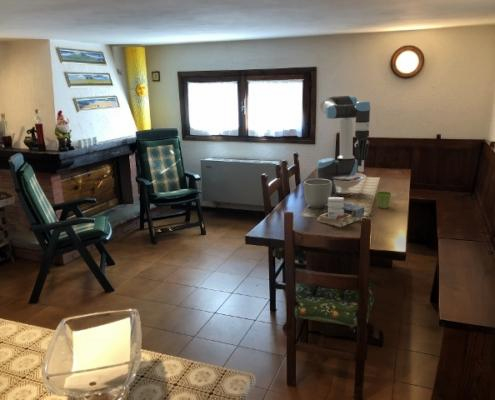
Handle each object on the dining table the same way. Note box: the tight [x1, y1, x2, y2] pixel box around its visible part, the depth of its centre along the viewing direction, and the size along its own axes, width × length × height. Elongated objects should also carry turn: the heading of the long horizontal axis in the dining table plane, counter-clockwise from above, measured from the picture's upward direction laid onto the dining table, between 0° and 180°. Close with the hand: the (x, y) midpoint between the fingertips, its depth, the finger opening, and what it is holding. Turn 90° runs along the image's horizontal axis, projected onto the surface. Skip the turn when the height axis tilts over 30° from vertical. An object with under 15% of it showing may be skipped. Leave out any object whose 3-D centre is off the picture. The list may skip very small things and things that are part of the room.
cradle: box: [316, 210, 371, 228], centre depth 232 cm, size 28×16×4 cm, turn 131°
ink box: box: [327, 196, 345, 220], centre depth 227 cm, size 9×5×12 cm, turn 76°
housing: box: [344, 202, 365, 217], centre depth 235 cm, size 8×15×4 cm, turn 41°
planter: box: [303, 178, 332, 210], centre depth 253 cm, size 17×17×16 cm
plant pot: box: [375, 191, 393, 209], centre depth 248 cm, size 9×9×9 cm
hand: (360, 171), depth 235 cm, fingers closed
